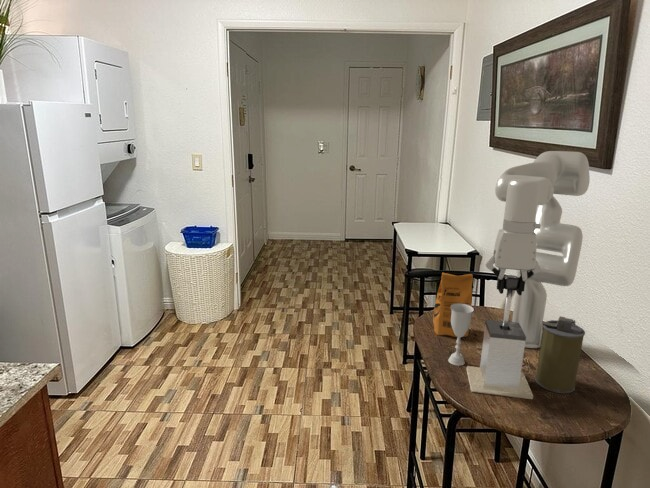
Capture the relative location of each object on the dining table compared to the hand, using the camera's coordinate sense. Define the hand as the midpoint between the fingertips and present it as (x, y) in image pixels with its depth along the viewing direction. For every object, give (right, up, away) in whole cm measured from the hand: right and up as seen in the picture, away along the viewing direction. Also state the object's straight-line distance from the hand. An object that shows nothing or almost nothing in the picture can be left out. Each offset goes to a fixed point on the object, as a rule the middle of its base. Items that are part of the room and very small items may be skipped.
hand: (509, 292), depth 119 cm
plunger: (0, -17, +4) cm, 17 cm away
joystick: (-1, -27, +7) cm, 28 cm away
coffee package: (-5, -19, +40) cm, 44 cm away
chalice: (-9, -24, +19) cm, 32 cm away
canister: (+16, -27, +8) cm, 33 cm away
